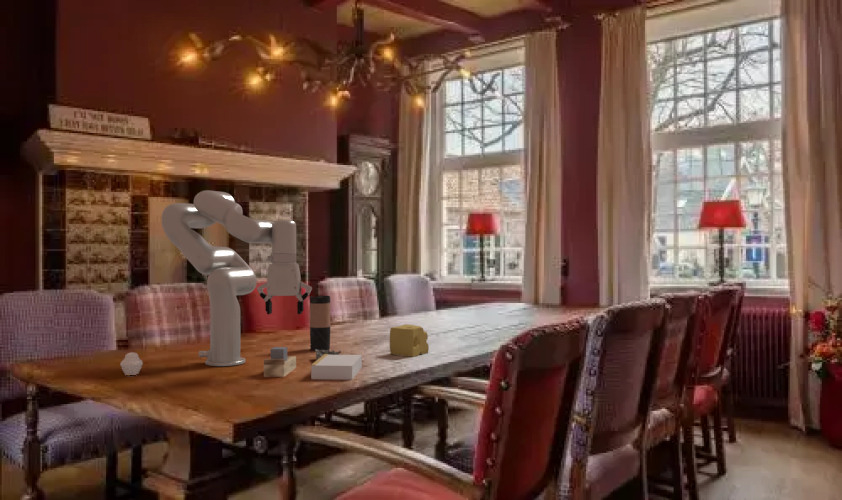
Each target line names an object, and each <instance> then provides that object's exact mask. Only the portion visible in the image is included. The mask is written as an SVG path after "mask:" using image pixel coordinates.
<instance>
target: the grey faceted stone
mask: <svg viewBox="0 0 842 500" xmlns="http://www.w3.org/2000/svg"><path fill="white" fill-rule="evenodd" d="M143 363H144V362H143V360H142V359H140V357H139V354H138V353H137V352H133V351H131V352H128V353H126V354H125V356H124V358H123V359H122V361H120V367H121V370H122V372H123V373H124V375H125V376H126V375H136V374H138V375H139V373H140V371H141V369H142V367H143ZM136 376H137V375H136Z"/></svg>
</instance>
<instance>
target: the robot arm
mask: <svg viewBox="0 0 842 500" xmlns="http://www.w3.org/2000/svg"><path fill="white" fill-rule="evenodd" d="M216 223H218V224H219V225H222V226H224V228H225V230H226V231H227V233H228V234H230V235H231V236H233V237H234V238H236V239H239V240H241V241H243V242H245V243H248V244H262V245H263V244H265V245H266V244H267V245H268V244H269V245H271V254H270V255H267V257H266V258H267V261H271V262H270V263H269V264H268V269H267V270H268V271H267V277H266V282H265V283H263V284H261V285H259V286H257V284H258V283H257V281H258V280H257V276H256V274H255V272H254V270H253V269H252V268H251V267H250V266H249V264H248V263H247V262H245V260H244V259H243V258H242V257H241V256H240V255H239V254H238V253H237V252H236V251H235V250H234V249H233V248H231V247H227V246H214V245H211V244H210V243H209V242H208V241H206V240H205V239H204V237H203V236H202V235H201V234H200V233H199V232H197V231H195V230H194V229H205V228H209V227H210V226H213V225H215V224H216ZM161 226H162V229H163V232H164V234H165V236H166V238H167V239H168V240H169V241H170V242H171V243H172V244H173V245H174V246H175V247H176V248H177V249H178V250H179V251H180V252H181V253H182V255H183V256H184V257H185V258H186V260H188V262H189V263H190V264H191V265H192V266H193V267H194V269H195V270H196V271H197V272H198V273H200V274H201V275H208V277H207V280H206V286H207V293H208V297H209V309H210V311H209V314H210V315H209V316H210V321H209V322H210V329H209V331H210V332H209V333H210V335H209V336H210V341H209V343H210V345H209V346H210V348H209V349H208V350H199V351H198V358H206V360H205V365H206V366H211V367H230V366H231V367H232V366H238V365H243V364H245V363H246V358H245V357H243V356H241V306H240V303H239V300H238V298H237V296H245V295H248V294H251V293H253V291H255V289H257V292H258V293H259V297H261V299H263V301H264V302H265V305H264V306H265V312H266V315H271V314H272V313H273V302H272V298H273V297H274V296H275V297H276V296H277V297H279V296H280V297H281V296H283V297H284V296H285V297H286V296H287V297H290V296H295V298H296V299H297V300H298V301H297V303H296V304H297V305H296V306H297V307H296V308H297V314H298V315H301V314H303V312H304V301H305V300H306V299H307V298H308V297H309V295H310V294H311V291H312V290H313V287H312V286H310V285H309V284H307V283H305V282H303V281H302V277H301V270H300V266H299V263H297V223H296V221H294V220H289V219H287V220H286V219H282V220H281V219H276V220H268V219H267V220H266V219H252V218H250V217H249V216H246V215H243V208H242V206H241V205H240V204H239V203H237V202H236V200H235V199H234V197H233V196H232V195H231V194H230V193H228V192H225V191H218V190H217V191H216V190H209V189H207V190H201V191H200V192H198V193H197V194H196V195H195V196H194V198H193V203H186V202H177V203H176V202H175V203H172V204H169V205H167V206H166V207H164V209H163V210H162V213H161ZM265 288H266V293H265V292H264V289H265ZM302 288H303V289H305V292H304V293H303V294H302Z"/></svg>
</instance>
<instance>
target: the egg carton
mask: <svg viewBox="0 0 842 500" xmlns="http://www.w3.org/2000/svg"><path fill="white" fill-rule="evenodd" d="M314 352H315V359H316V360H315V361H317V360H318V359H319V358H320V357H322V356H323V355H324V354H328V355H340V354H341V353H342V352H341V350H339V351H335V350H334V349H333V350H330V349H329V350H322V349H321V350H317V349H315V351H314Z"/></svg>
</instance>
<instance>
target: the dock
mask: <svg viewBox="0 0 842 500" xmlns="http://www.w3.org/2000/svg"><path fill="white" fill-rule="evenodd" d="M362 361H363V354H339V355H328V354H324V355H323V356H322V357H320V358H319V359H318V360H315V361H314V362H313V363H311V365H310V366H311V373H310V374H311V377H310V378H311V380H345V381H346V380H348V381H349V380H353V379H354V378H355V377H356V376H357V374H358V373H359V372H360V370H361V369H362V368H363V364H362Z"/></svg>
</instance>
